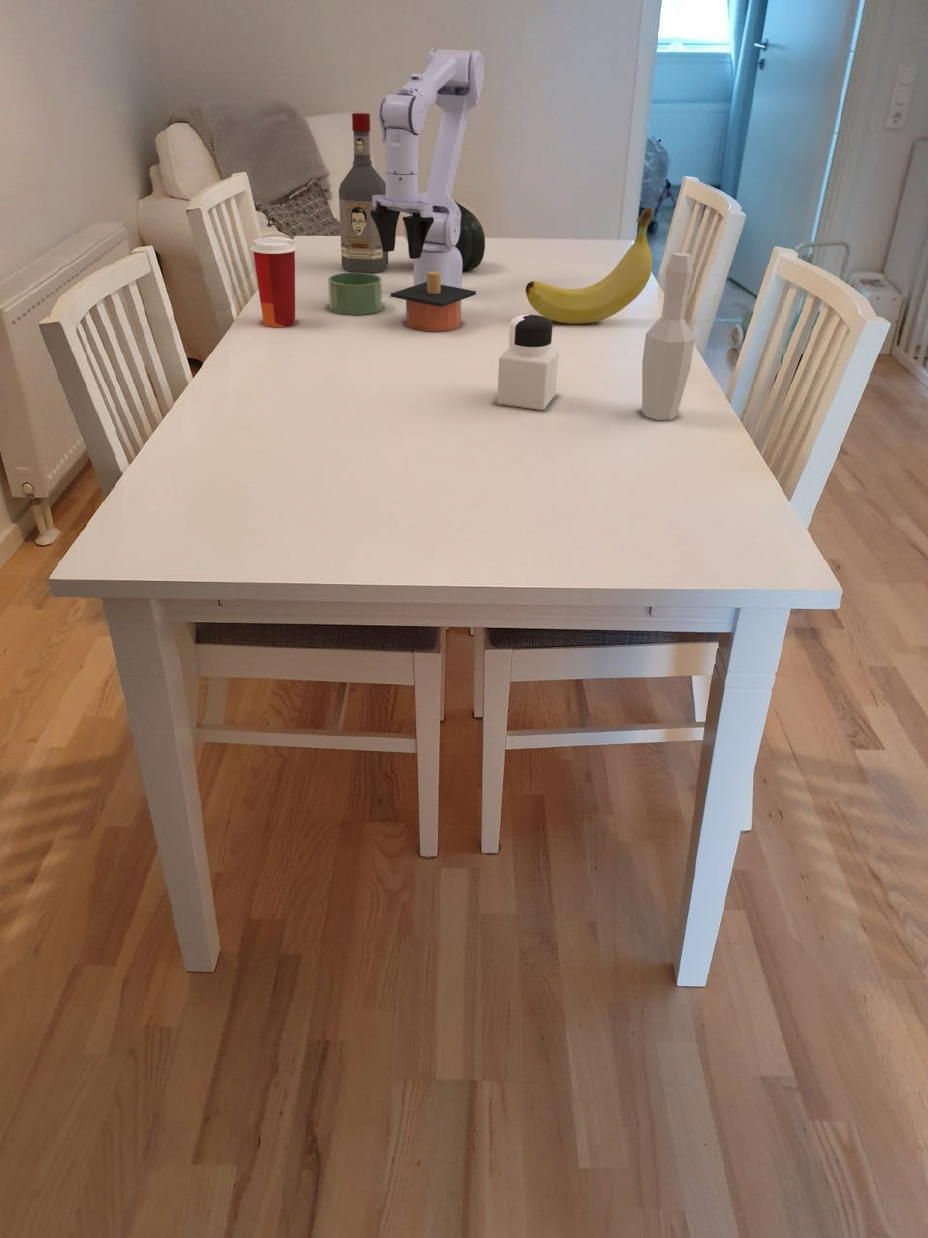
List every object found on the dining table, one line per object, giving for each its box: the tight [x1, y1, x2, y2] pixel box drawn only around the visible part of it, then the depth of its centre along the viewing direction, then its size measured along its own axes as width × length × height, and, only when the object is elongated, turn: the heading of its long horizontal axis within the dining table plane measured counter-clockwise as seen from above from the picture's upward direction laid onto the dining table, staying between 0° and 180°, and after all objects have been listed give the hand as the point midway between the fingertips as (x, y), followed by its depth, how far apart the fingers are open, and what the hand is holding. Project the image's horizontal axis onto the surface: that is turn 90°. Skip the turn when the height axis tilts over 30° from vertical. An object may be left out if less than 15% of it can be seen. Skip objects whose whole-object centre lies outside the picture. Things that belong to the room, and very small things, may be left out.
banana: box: [525, 207, 655, 325], centre depth 172 cm, size 23×6×20 cm, turn 94°
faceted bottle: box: [641, 251, 696, 421], centre depth 132 cm, size 6×6×22 cm
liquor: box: [338, 112, 389, 274], centre depth 201 cm, size 9×9×30 cm
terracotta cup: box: [405, 300, 462, 332], centre depth 173 cm, size 10×10×5 cm
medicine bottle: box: [496, 314, 560, 411], centre depth 138 cm, size 7×7×12 cm
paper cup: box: [249, 236, 297, 328], centre depth 169 cm, size 8×8×14 cm
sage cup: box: [327, 272, 383, 316], centre depth 181 cm, size 10×10×5 cm
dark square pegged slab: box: [390, 271, 477, 307], centre depth 170 cm, size 11×11×4 cm
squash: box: [453, 200, 486, 272], centre depth 208 cm, size 14×15×15 cm
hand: (401, 254), depth 175 cm, fingers open, 7 cm apart
